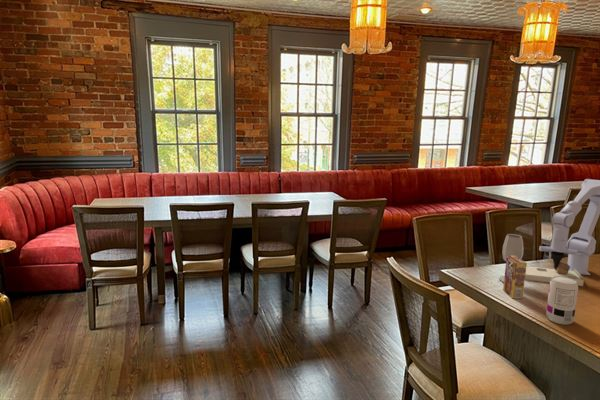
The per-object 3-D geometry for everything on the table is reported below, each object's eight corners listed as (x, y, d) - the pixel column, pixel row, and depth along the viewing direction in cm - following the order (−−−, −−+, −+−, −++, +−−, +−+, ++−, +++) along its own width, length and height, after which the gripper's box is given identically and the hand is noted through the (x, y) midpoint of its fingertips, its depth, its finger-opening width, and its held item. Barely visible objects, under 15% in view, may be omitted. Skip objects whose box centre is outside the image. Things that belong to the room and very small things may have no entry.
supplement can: (540, 317, 142) (545, 277, 139) (555, 313, 145) (560, 274, 142) (563, 327, 134) (568, 286, 132) (578, 322, 138) (584, 282, 135)
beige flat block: (518, 270, 188) (519, 263, 187) (574, 276, 180) (575, 269, 180) (523, 279, 177) (523, 272, 176) (583, 286, 169) (584, 278, 169)
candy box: (523, 299, 157) (527, 262, 154) (512, 298, 157) (516, 262, 154) (513, 290, 165) (516, 255, 163) (502, 289, 166) (505, 255, 163)
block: (554, 268, 180) (557, 261, 179) (563, 271, 179) (567, 263, 178) (557, 271, 177) (560, 263, 176) (566, 274, 176) (570, 266, 175)
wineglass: (499, 283, 172) (504, 237, 169) (498, 276, 180) (502, 232, 177) (522, 286, 169) (527, 239, 165) (519, 279, 177) (524, 234, 173)
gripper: (543, 239, 176) (539, 268, 178) (581, 243, 171) (576, 273, 173) (539, 235, 182) (535, 263, 185) (576, 239, 177) (571, 268, 180)
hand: (555, 268), depth 179 cm, fingers closed, pressing on block
